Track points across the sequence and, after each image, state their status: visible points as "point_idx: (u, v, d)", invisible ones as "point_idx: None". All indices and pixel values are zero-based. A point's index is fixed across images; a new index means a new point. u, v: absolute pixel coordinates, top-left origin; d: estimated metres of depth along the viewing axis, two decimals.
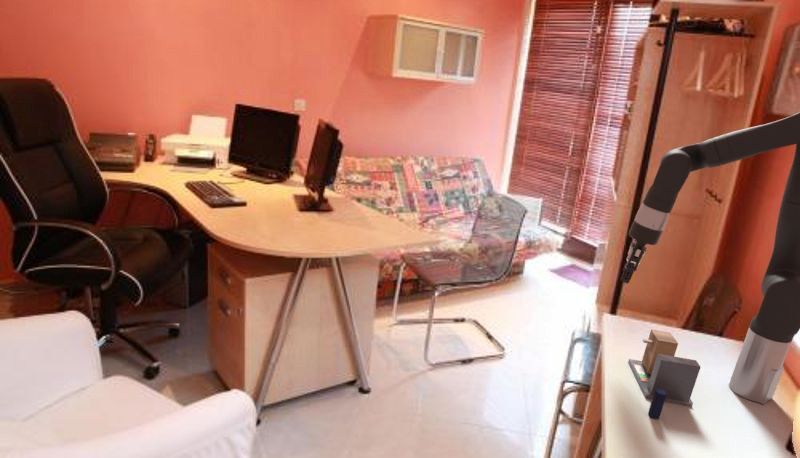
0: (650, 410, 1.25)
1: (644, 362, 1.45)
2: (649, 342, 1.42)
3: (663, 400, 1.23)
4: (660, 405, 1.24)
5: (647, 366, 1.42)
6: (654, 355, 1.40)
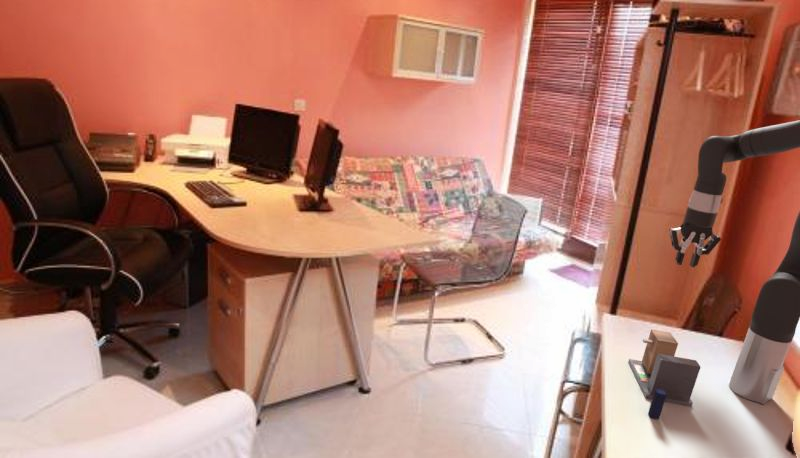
0: (650, 410, 1.25)
1: (644, 362, 1.45)
2: (649, 342, 1.42)
3: (663, 400, 1.23)
4: (660, 405, 1.24)
5: (647, 366, 1.42)
6: (654, 355, 1.40)
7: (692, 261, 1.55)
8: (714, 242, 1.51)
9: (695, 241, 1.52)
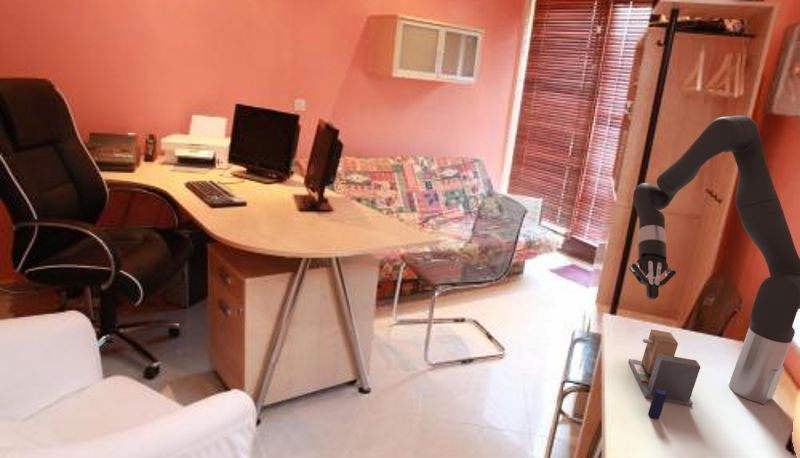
0: (650, 410, 1.25)
1: (644, 362, 1.45)
2: (649, 342, 1.42)
3: (663, 400, 1.23)
4: (660, 405, 1.24)
5: (647, 366, 1.42)
6: (654, 355, 1.40)
7: None
8: (670, 274, 1.55)
9: (652, 270, 1.55)
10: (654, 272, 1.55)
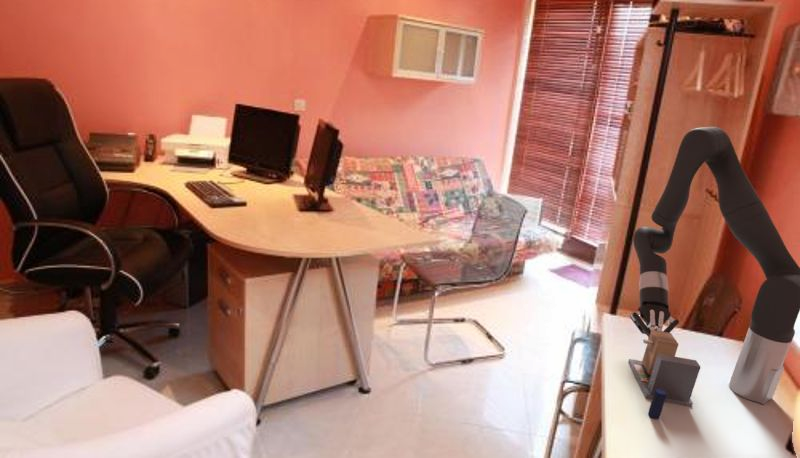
0: (650, 410, 1.25)
1: (644, 362, 1.45)
2: (649, 343, 1.41)
3: (663, 400, 1.23)
4: (660, 405, 1.24)
5: (647, 367, 1.42)
6: (654, 356, 1.39)
7: None
8: (673, 323, 1.48)
9: (654, 320, 1.49)
10: (656, 321, 1.48)
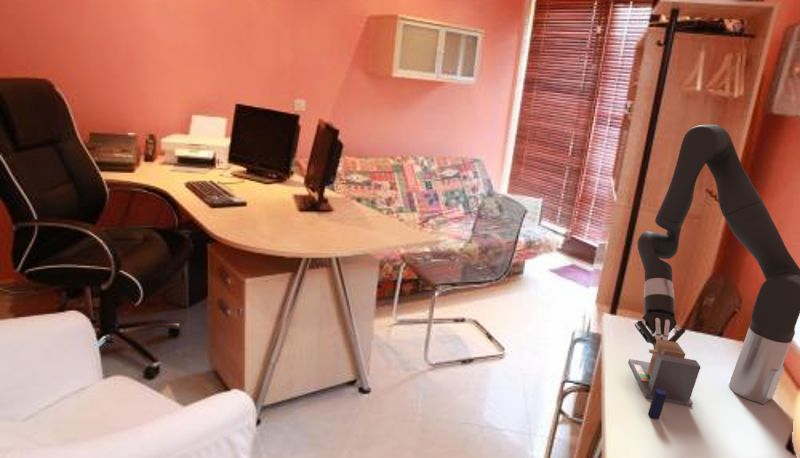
0: (650, 410, 1.25)
1: (649, 372, 1.40)
2: (655, 352, 1.36)
3: (663, 400, 1.23)
4: (660, 405, 1.24)
5: None
6: None
7: None
8: (679, 332, 1.43)
9: (660, 328, 1.44)
10: (662, 330, 1.44)
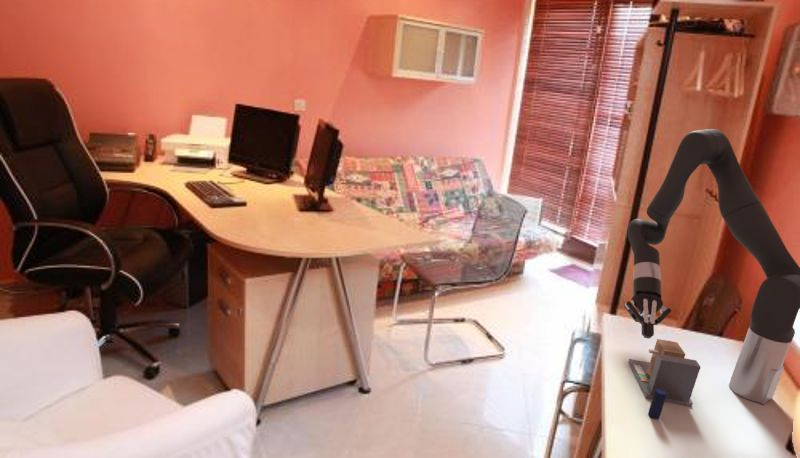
0: (650, 410, 1.25)
1: (649, 373, 1.40)
2: (655, 352, 1.36)
3: (663, 400, 1.23)
4: (660, 405, 1.24)
5: None
6: None
7: None
8: (665, 312, 1.53)
9: (647, 308, 1.54)
10: (649, 310, 1.54)
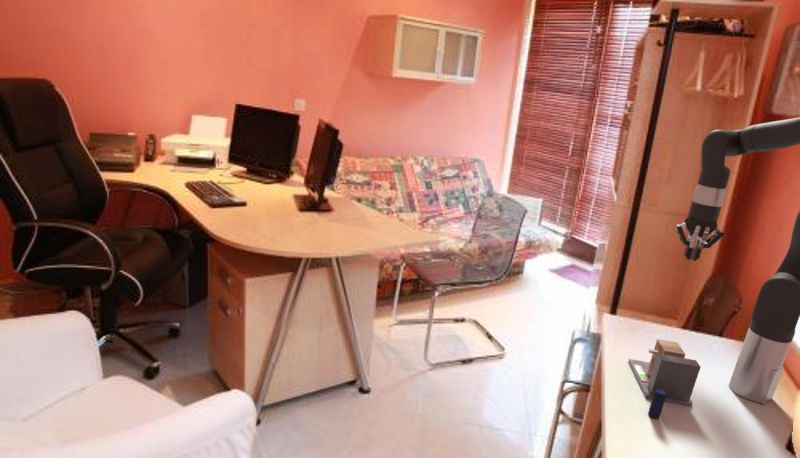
0: (650, 410, 1.25)
1: (649, 373, 1.40)
2: (655, 352, 1.36)
3: (663, 400, 1.23)
4: (660, 405, 1.24)
5: None
6: None
7: (693, 255, 1.56)
8: (717, 236, 1.52)
9: (699, 234, 1.53)
10: (700, 235, 1.53)
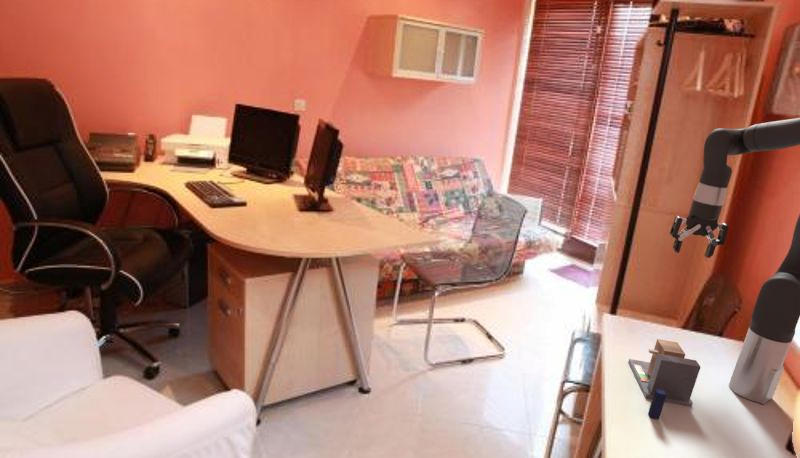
0: (650, 410, 1.25)
1: (649, 373, 1.40)
2: (655, 352, 1.36)
3: (663, 400, 1.23)
4: (660, 405, 1.24)
5: None
6: None
7: (707, 252, 1.55)
8: (724, 231, 1.51)
9: (704, 235, 1.52)
10: (707, 235, 1.52)
